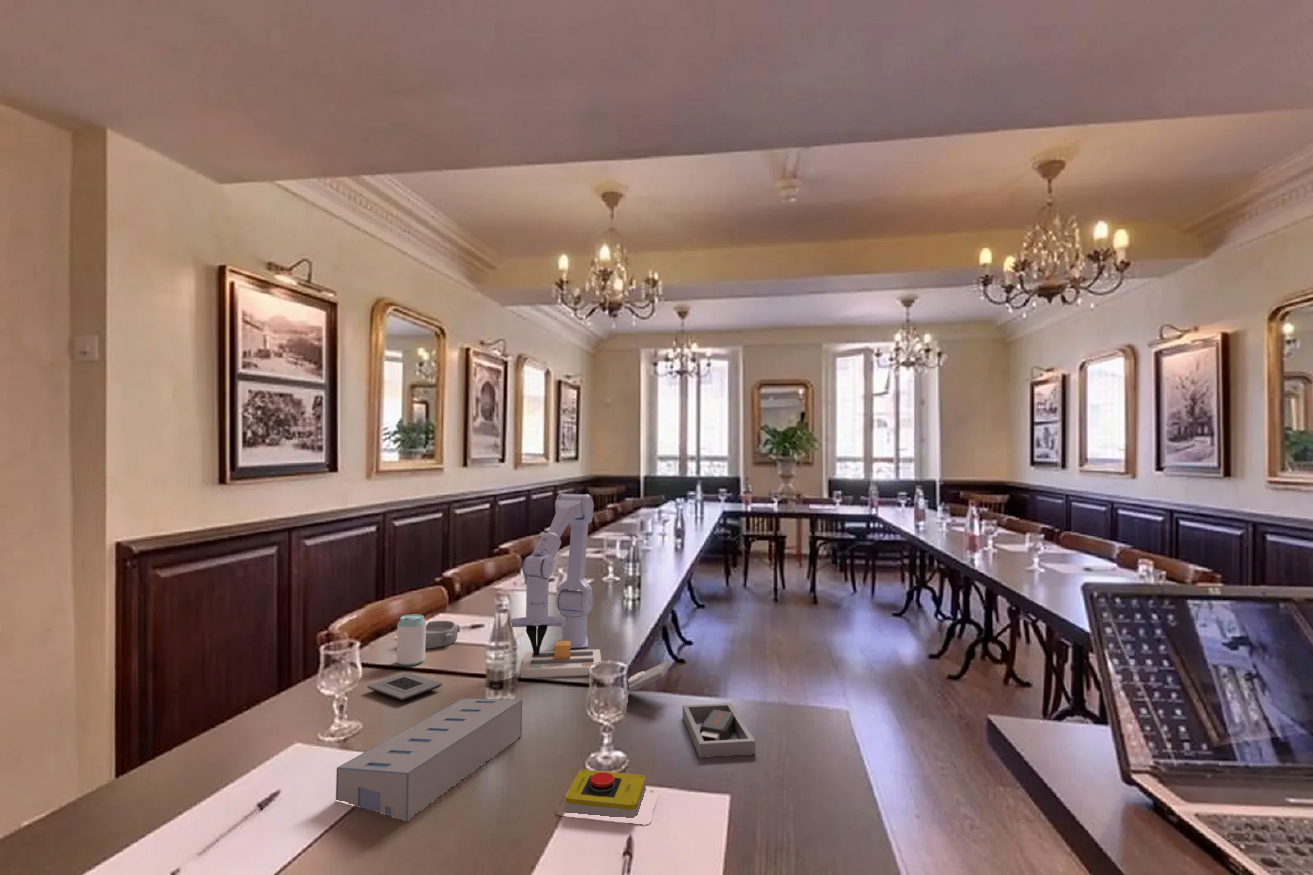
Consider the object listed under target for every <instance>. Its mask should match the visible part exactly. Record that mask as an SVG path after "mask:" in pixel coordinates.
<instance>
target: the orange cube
mask: <svg viewBox="0 0 1313 875" xmlns="http://www.w3.org/2000/svg"><path fill="white" fill-rule="evenodd" d="M570 642H571V641H560V640H556V641H554V651H555V659H570V650H571V648H570Z"/></svg>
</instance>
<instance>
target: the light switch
mask: <svg viewBox="0 0 1313 875" xmlns="http://www.w3.org/2000/svg"><path fill="white" fill-rule="evenodd" d="M670 665H671V663H670V661H669V660H666V661H664V662H662V663H659V664H658V665H655V666H654V667H651V668H649V669H647V670H644V671H640V672H636V673H635V674H634V675H632V676H630V677H629V678H628V679H627V680H628V682H629V692H630V693H632V692H634V691H637V690H638V689H641V688H643V687H644V686H647V685H649V684H651V683H653V682H655V681H658V680H660V679H661V678H664V676H665V675H666V673H667V671H668V669H669V667H670Z"/></svg>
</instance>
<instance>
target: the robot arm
mask: <svg viewBox="0 0 1313 875" xmlns="http://www.w3.org/2000/svg"><path fill="white" fill-rule="evenodd" d="M594 506H595V504H594V500H593V498H592V496H591V495H590V494H588V493H586V494H577V493H576V494H574V493H570V494H569V493H559V494H558V495H557V497H556V499H555V503H554V509H555V513H554V517H553V519H552V521H551V524H550V526H549V529H548V531H547V532H544V533H542V535H541V536H540V538H539V541H537V544H536V546H535V548H534V550H533V552H532V554H531V555H529V556H527V557H525V559H524V560H523V563H522V567H521V571H522V572H521V573H522V576H523V578H524V584H525V585H526V594H525V616H524V617H514V618H512V617H511V618H510V619H511V623H512V627H513V628H526V629H525V631H526V634H527V636H528V638H529V641H530V644H531V648H532V652H533V654H534V656H539V652H540V651H541V646H542V643H543V641H544V638H545V635H546V634H547V631H548V627H561V637H560V638H559V639H560V640H559V641H571V642H570V649H575V648H577V649H578V648H580V649H581V648H582V649H583V648H588V647H589V643H588V642H589V641H588V636H587V627H588V626H587V625H588V624H587V620H588V616H587V615H588V614H589V613H590V612H591V611H592V609H593V606H594V597H593V587H592V585H591V584H589V583H588V582H587V581H586V580H585V572H586V571H585V570H586V558H587V546H588V535H589V534H588V532H589V524H590V523H592V522H593V518H594V516H593V515H594ZM568 525H570V529H571V530H570V537H569V538H570V540H569V549H568V550H569V551H568V562H567V565H568V566H567V575H566V580H565V581H564V582H562V583H561V584H559V585H558V591H557V594H556V596H555V607H556V609H557V611H559V615H561V616H549V594H550V593H549V590H550V589H549V586H550V577H551V576H552V575H553V572H554V567H555V566H554V565H555V563H556V562H555V561H556V560H555V557H556V556H557V553H558V551H559V549H560V547H561V545H562V540H561V537H562V535H563V533H564V531H565V530H566V529H567V527H568Z"/></svg>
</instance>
